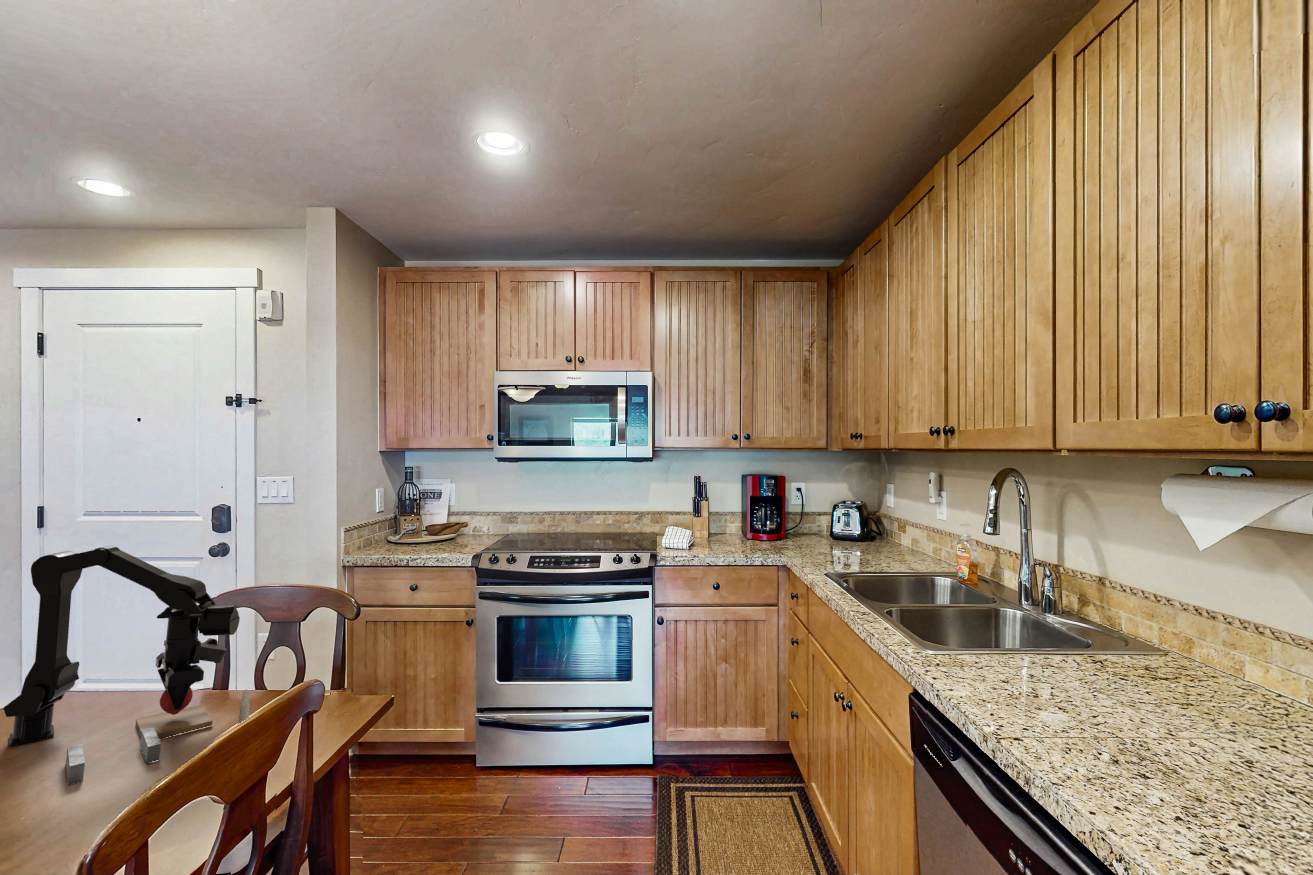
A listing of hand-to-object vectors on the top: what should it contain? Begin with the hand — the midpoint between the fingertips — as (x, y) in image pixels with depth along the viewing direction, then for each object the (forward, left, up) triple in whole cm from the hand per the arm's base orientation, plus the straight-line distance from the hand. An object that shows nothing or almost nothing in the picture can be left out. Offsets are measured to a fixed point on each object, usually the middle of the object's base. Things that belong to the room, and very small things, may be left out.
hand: (175, 704), depth 130 cm
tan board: (0, 0, -5) cm, 5 cm away
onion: (0, 0, -2) cm, 2 cm away
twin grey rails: (+12, -11, -5) cm, 17 cm away
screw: (+23, +8, -5) cm, 25 cm away
